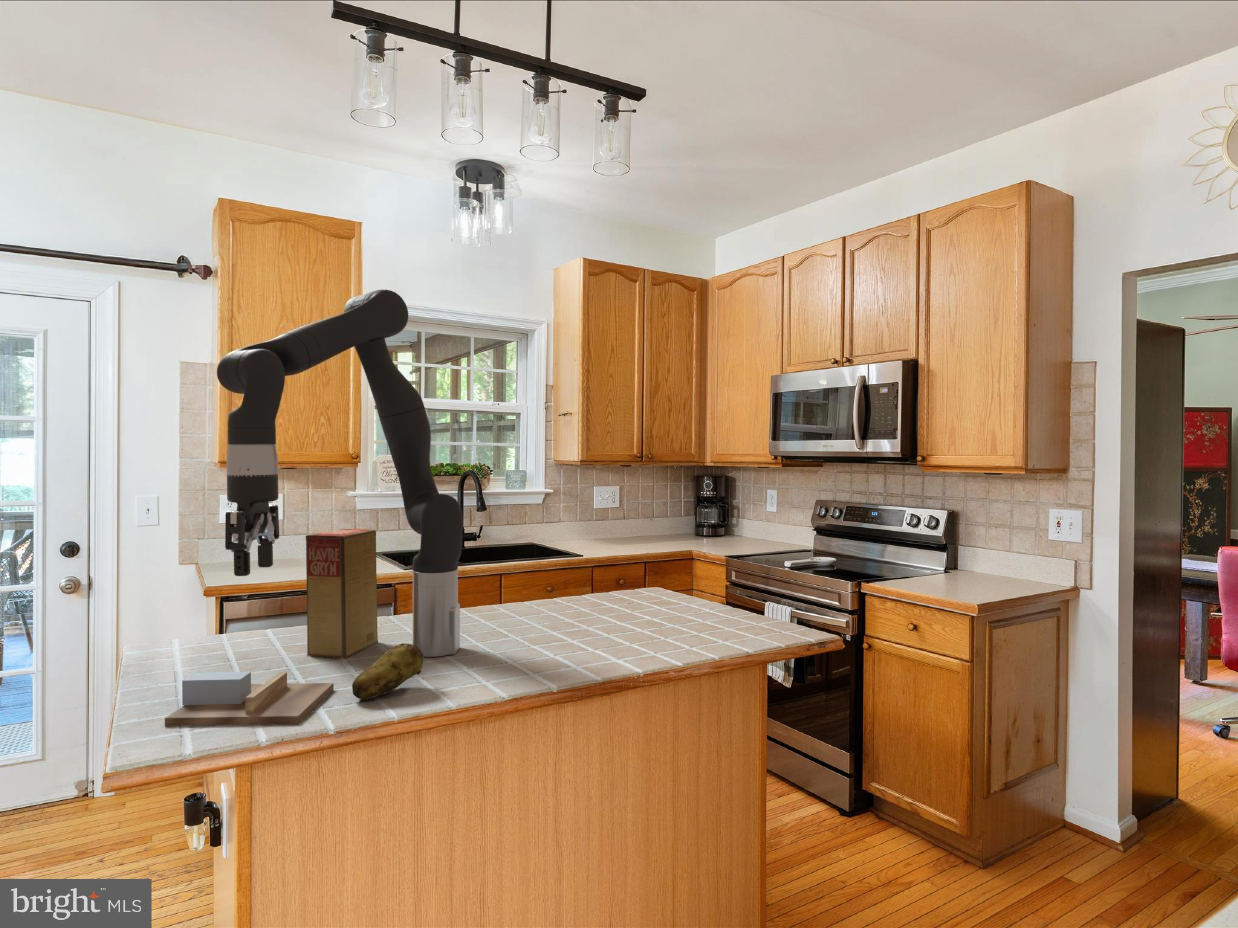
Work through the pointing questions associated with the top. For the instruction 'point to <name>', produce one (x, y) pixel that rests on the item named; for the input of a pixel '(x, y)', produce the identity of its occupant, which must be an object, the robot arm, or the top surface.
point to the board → (258, 705)
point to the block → (216, 688)
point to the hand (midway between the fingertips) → (254, 571)
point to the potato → (388, 671)
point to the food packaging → (341, 592)
